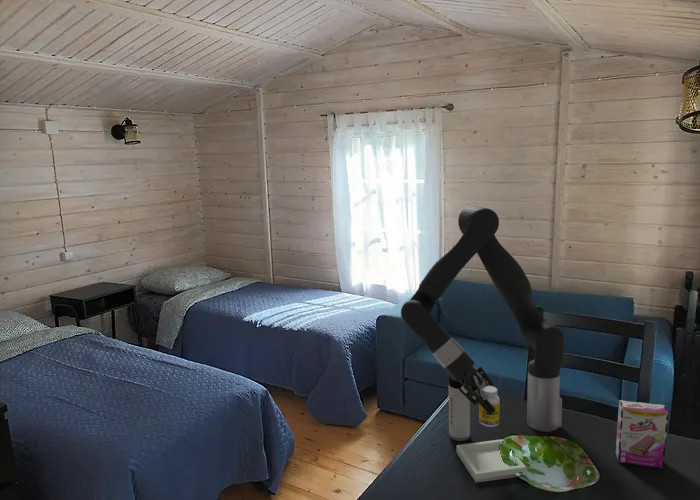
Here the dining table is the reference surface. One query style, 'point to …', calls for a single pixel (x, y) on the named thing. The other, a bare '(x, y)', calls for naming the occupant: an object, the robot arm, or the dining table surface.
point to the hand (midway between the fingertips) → (496, 407)
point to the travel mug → (458, 412)
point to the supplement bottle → (492, 397)
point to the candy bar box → (641, 434)
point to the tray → (487, 461)
